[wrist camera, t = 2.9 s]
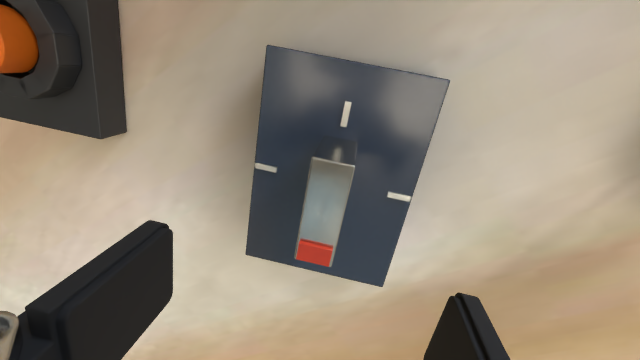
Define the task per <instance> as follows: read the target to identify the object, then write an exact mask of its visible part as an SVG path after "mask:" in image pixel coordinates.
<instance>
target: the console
mask: <svg viewBox="0 0 640 360" xmlns="http://www.w3.org/2000/svg"><path fill="white" fill-rule="evenodd" d="M449 83H450V80H448V79H442V78H437V77H432V76H427V75H422V74H416V73H411V72H406V71H401V70H396V69H391V68H385V67H380V66H375V65H370V64H365V63H359V62H354V61H349V60H344V59H339V58H334V57H328V56H323V55H318V54H313V53H308V52H303V51H297V50H292V49H287V48H282V47H277V46H271V45H267V48H266V57H265V67H264V77H263V87H262V97H261V107H260V117H259V126H258V136H257V146H256V156H255V166H254V176H253V185H252V195H251V205H250V215H249V225H248V235H247V245H246V255H249V256H253V257H257V258H262V259H266V260H270V261H274V262H278V263H283V264H287V265H291V266H295V267H299V268H304V269H308V270H312V271H316V272H320V273H325V274H329V275H333V276H337V277H341V278H346V279H350V280H354V281H358V282H362V283H367V284H371V285H375V286H379V287H383V284H384V281H385V278H386V275H387V272H388V269H389V266H390V263H391V260H392V257H393V254H394V251H395V248H396V245H397V242H398V239H399V236H400V232H401V229H402V226H403V223H404V220H405V217H406V214H407V211H408V208H409V205H410V202H411V199H412V196H413V193H414V190H415V187H416V184H417V181H418V178H419V174H420V171H421V168H422V165H423V162H424V159H425V156H426V153H427V150H428V147H429V144H430V141H431V138H432V135H433V132H434V129H435V126H436V123H437V119H438V116H439V113H440V110H441V107H442V104H443V101H444V98H445V95H446V92H447V89H448V86H449ZM324 135H327V136H332V137H336V138H341V139H346V140H351V141H356V142H357V153H356V165H355V171H354V175H353V179H352V184H351V188H350V192H349V196H348V200H347V205H346V209H345V213H344V217H343V221H342V226H341V230H340V234H339V238H338V242H337V247H336V251H335V255H334V259H333V263H332V266H331V267H327V266H323V265H319V264H314V263H310V262H306V261H302V260H297V259H295V258H294V254H295V249H296V243H297V237H298V232H299V226H300V220H301V215H302V209H303V203H304V198H305V192H306V186H307V181H308V175H309V169H310V164H311V158H312V156H313V155H314V153H315V151H316V149H317V147H318V146H319V144H320V142H321V140H322V139H323V137H324Z"/></svg>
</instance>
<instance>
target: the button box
mask: <svg viewBox="0 0 640 360" xmlns="http://www.w3.org/2000/svg"><path fill="white" fill-rule="evenodd" d="M0 5H5V6H8V7H10V8H12V9H14V10H15V11H17V12H18V13H19V14H21V15H22V16H23V17H24V18H25V19H26V21H27V22H28V23H29V25H30V27H31V29H32V30H33V32H34V34H35V36H36V39H37V44H38V50H39V56H38V60H37V63H36V65H35V66H34V67H33V68H32V69H31V70H29V71H27V72H23V73H0V117H2V118H7V119H11V120H16V121H20V122H25V123H29V124H34V125H39V126H43V127H48V128H52V129H57V130H61V131H66V132H70V133H75V134H79V135H84V136H88V137H93V138H97V139H104V138H107V137H111V136H114V135H118V134H122V133H125V132H126V119H125V105H124V90H123V75H122V60H121V46H120V31H119V16H118V1H117V0H0Z"/></svg>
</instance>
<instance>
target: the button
mask: <svg viewBox="0 0 640 360" xmlns="http://www.w3.org/2000/svg"><path fill="white" fill-rule="evenodd" d="M38 56H39V50H38V44H37V39H36V36H35V34H34V32H33V30H32V29H31V27H30V25H29V23H28V22H27V21H26V19H25V18H24V17H23V16H22V15H21V14H19V13H18V12H17V11H15V10H14V9H12V8H10V7H8V6H5V5H0V73H23V72H27V71H29V70H31V69H32V68H33V67H34V66H35V65H36V63H37V60H38Z"/></svg>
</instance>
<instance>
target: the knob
mask: <svg viewBox="0 0 640 360" xmlns="http://www.w3.org/2000/svg"><path fill="white" fill-rule="evenodd" d="M356 153H357V142H356V141H351V140H346V139H341V138H336V137H332V136H327V135H324V137H323V139H322V140H321V142H320V144H319V146H318V147H317V149H316V151H315V153H314V155H313V156H312V158H311V164H310V169H309V175H308V181H307V186H306V192H305V198H304V203H303V209H302V215H301V220H300V226H299V232H298V237H297V243H296V249H295V254H294V258H295V259H297V260H302V261H306V262H310V263H314V264H319V265H323V266H327V267H331V266H332V263H333V259H334V255H335V251H336V247H337V242H338V238H339V234H340V230H341V226H342V221H343V217H344V213H345V209H346V205H347V200H348V196H349V192H350V188H351V184H352V179H353V175H354V171H355V165H356Z"/></svg>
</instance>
